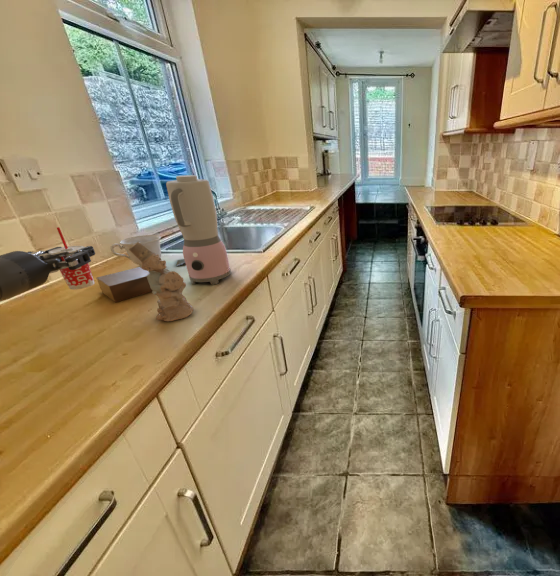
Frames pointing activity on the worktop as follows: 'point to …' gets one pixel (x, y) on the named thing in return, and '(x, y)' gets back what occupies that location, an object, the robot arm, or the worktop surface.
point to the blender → (198, 229)
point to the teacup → (147, 240)
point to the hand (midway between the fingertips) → (77, 250)
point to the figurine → (163, 285)
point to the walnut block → (125, 284)
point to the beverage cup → (78, 276)
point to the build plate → (181, 262)
